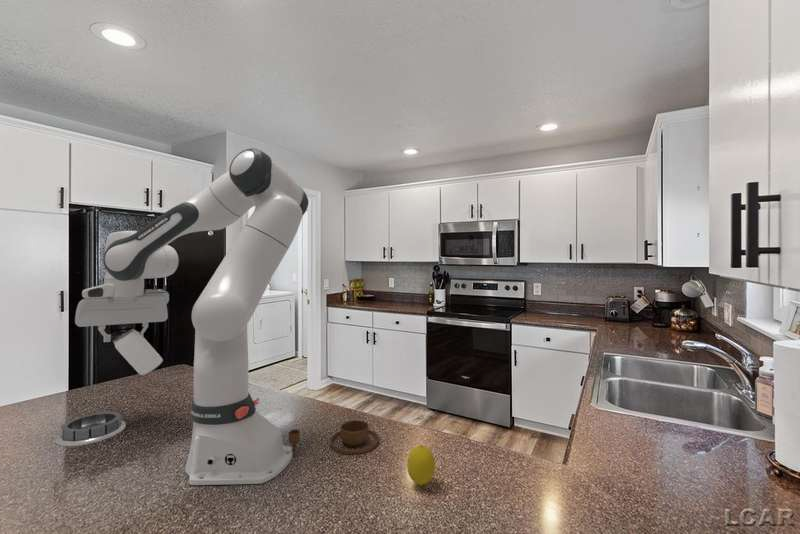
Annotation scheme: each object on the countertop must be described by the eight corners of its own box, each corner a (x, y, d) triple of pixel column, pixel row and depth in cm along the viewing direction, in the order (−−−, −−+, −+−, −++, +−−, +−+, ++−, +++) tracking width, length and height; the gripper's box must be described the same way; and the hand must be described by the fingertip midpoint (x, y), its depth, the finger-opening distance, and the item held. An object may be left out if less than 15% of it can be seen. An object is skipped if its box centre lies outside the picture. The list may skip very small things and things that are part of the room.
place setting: (371, 466, 82) (371, 439, 82) (284, 461, 84) (284, 435, 84) (383, 431, 99) (383, 409, 99) (311, 427, 101) (311, 406, 101)
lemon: (427, 497, 70) (426, 454, 70) (402, 487, 73) (402, 447, 73) (439, 482, 75) (439, 442, 75) (415, 474, 78) (415, 436, 78)
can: (150, 373, 101) (119, 339, 97) (136, 378, 104) (106, 345, 100) (168, 357, 107) (140, 325, 103) (154, 362, 109) (126, 331, 105)
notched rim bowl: (138, 424, 102) (138, 412, 102) (88, 448, 88) (88, 434, 88) (95, 420, 105) (95, 409, 105) (39, 444, 91) (39, 430, 91)
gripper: (168, 288, 110) (168, 334, 110) (77, 290, 98) (77, 342, 98) (169, 289, 105) (169, 338, 105) (74, 291, 93) (73, 346, 93)
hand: (124, 340), depth 101 cm, fingers open, 6 cm apart
